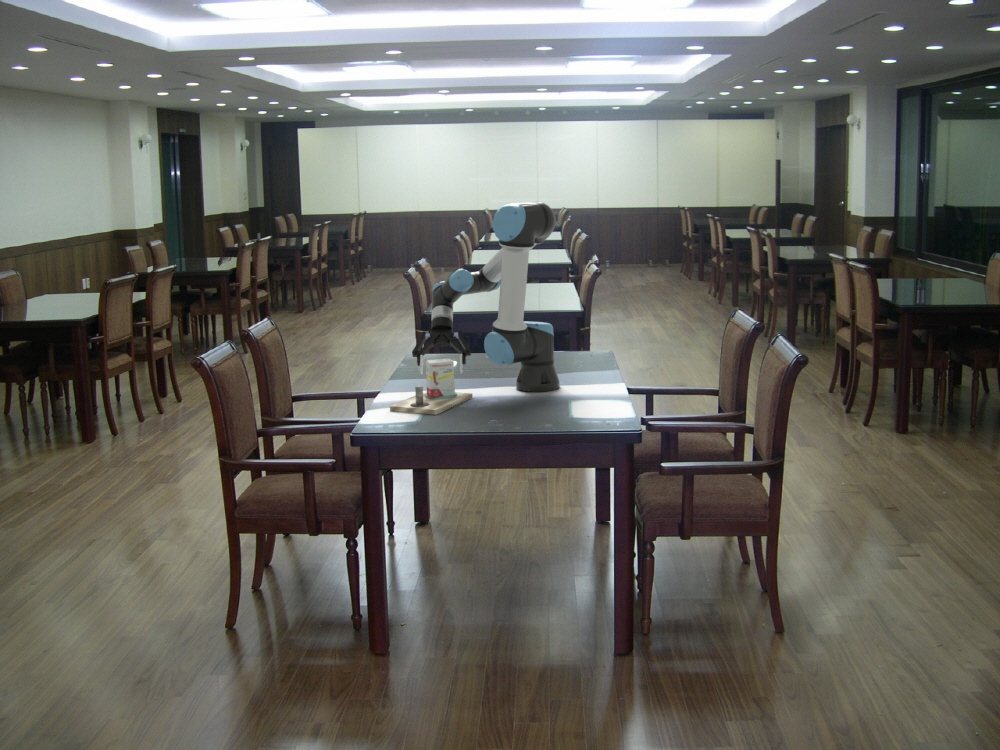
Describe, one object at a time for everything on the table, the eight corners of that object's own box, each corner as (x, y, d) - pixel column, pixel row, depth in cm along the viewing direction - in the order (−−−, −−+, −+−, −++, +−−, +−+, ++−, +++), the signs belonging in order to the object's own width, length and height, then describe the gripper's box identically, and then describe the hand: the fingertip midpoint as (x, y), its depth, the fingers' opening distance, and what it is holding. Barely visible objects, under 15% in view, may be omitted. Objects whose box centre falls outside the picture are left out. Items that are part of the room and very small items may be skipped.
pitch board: (472, 397, 354) (471, 375, 352) (436, 414, 332) (435, 391, 330) (428, 394, 361) (427, 372, 360) (390, 410, 339) (388, 387, 338)
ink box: (430, 397, 348) (429, 362, 345) (426, 394, 352) (425, 360, 350) (455, 395, 351) (454, 360, 348) (451, 392, 355) (449, 358, 353)
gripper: (477, 326, 373) (478, 377, 361) (407, 328, 373) (405, 379, 362) (477, 314, 367) (477, 365, 355) (405, 316, 367) (403, 367, 355)
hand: (441, 372), depth 358 cm, fingers open, 13 cm apart
